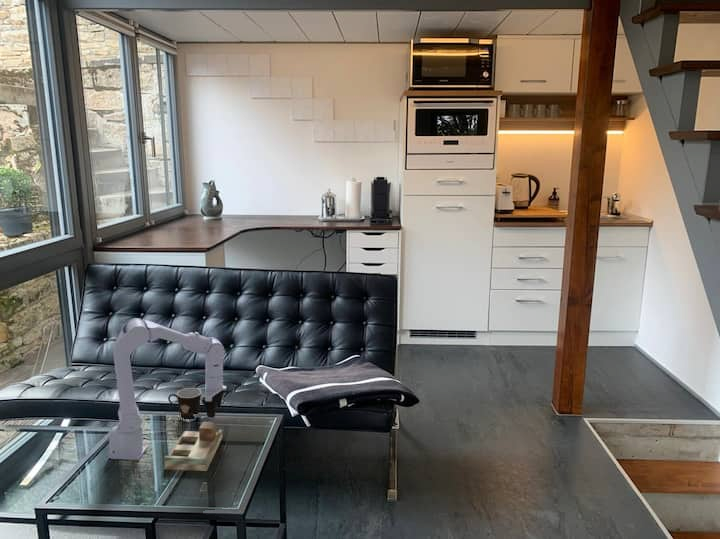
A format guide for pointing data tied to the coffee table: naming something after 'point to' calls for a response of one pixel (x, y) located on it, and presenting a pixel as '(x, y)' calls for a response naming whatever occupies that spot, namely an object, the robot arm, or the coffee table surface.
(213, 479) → the coffee table surface
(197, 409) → the coffee mug
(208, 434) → the walnut block
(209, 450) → the trap deck
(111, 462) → the coffee table surface
